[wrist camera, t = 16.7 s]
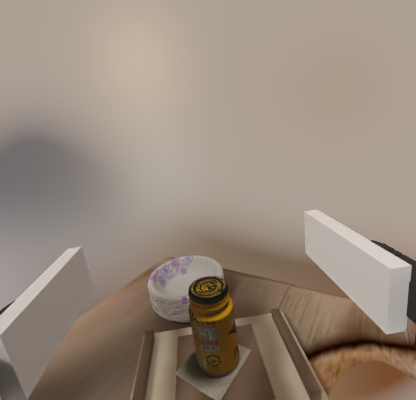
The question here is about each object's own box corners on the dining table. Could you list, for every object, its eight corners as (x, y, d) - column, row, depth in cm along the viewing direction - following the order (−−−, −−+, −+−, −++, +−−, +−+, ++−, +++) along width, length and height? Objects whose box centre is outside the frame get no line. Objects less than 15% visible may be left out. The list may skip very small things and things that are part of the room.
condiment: (251, 350, 37) (243, 278, 34) (219, 403, 30) (205, 320, 27) (210, 332, 41) (199, 266, 38) (175, 375, 35) (158, 300, 31)
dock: (125, 467, 28) (115, 439, 27) (146, 349, 44) (141, 327, 42) (333, 426, 29) (333, 397, 28) (282, 325, 45) (281, 303, 44)
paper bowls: (206, 344, 43) (199, 305, 41) (138, 323, 50) (130, 288, 48) (238, 291, 56) (234, 258, 54) (181, 280, 63) (175, 251, 61)
